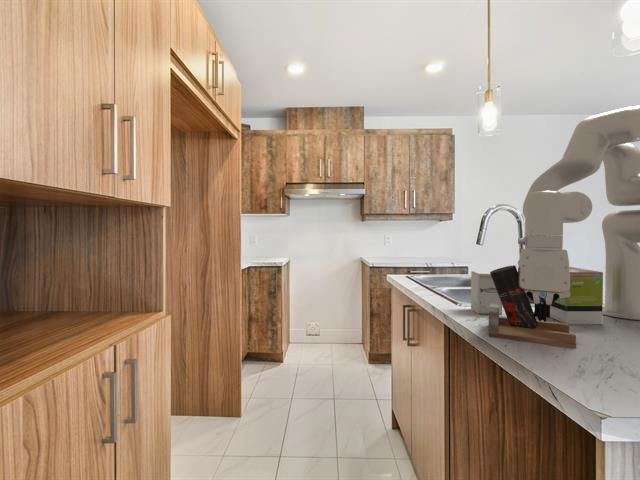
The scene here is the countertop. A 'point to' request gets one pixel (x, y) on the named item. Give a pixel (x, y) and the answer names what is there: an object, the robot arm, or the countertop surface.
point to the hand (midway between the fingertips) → (541, 319)
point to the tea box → (580, 299)
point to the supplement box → (483, 292)
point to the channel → (530, 331)
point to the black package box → (513, 298)
